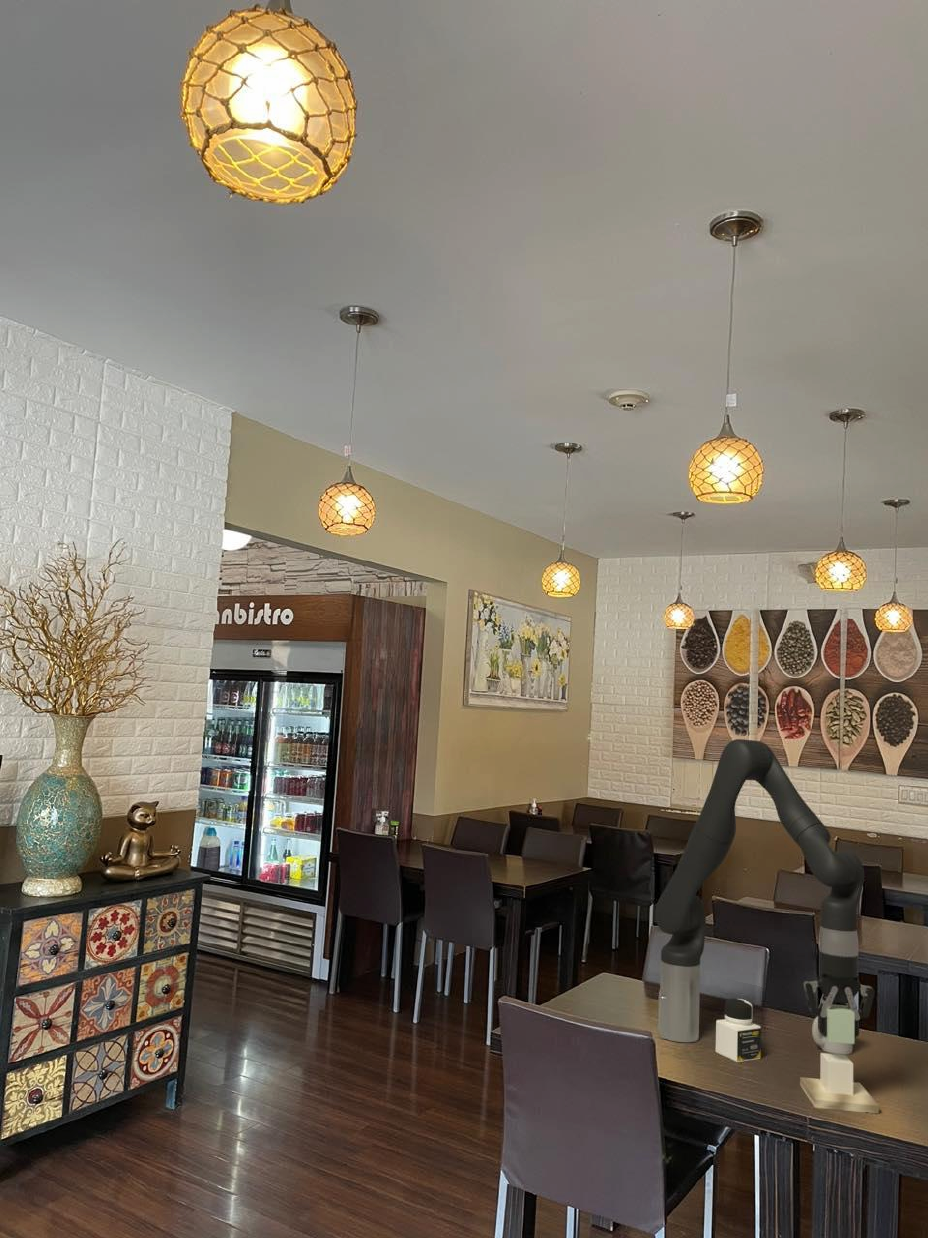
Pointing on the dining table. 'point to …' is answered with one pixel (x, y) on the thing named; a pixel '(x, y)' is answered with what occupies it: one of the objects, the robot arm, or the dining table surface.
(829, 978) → the robot arm
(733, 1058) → the medicine bottle
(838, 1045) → the cup
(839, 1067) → the cream block
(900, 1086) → the dining table surface
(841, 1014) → the sage block
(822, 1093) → the beech board
